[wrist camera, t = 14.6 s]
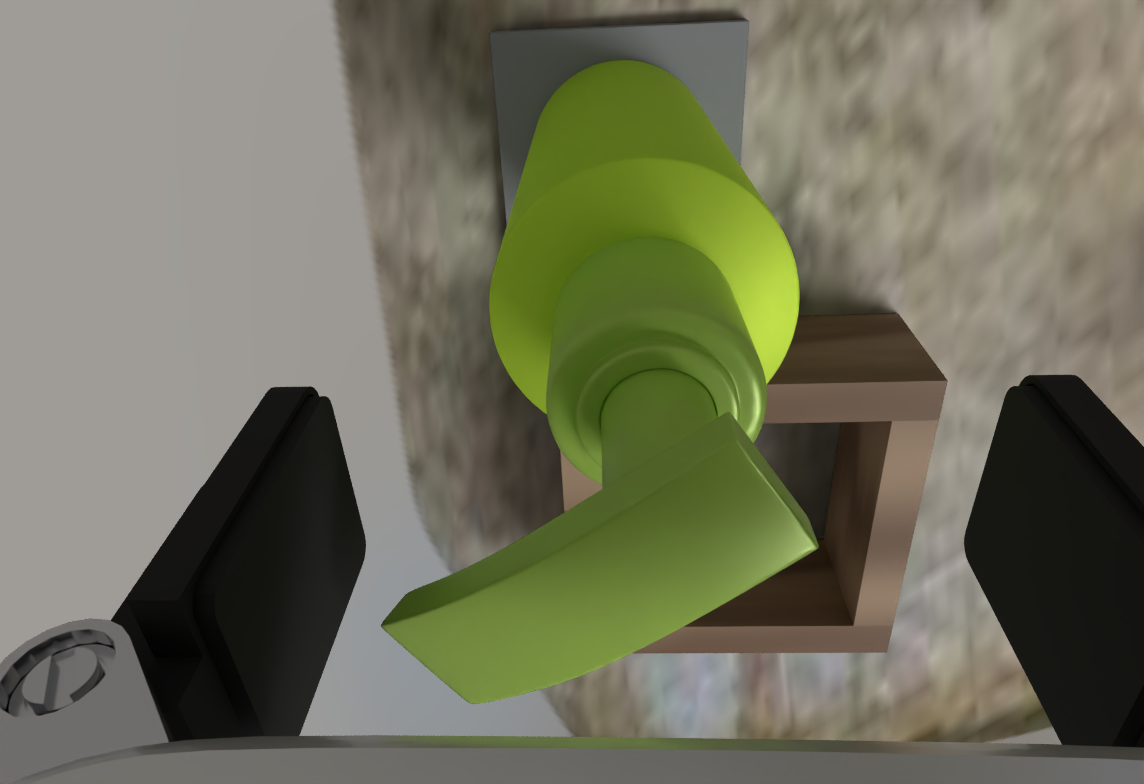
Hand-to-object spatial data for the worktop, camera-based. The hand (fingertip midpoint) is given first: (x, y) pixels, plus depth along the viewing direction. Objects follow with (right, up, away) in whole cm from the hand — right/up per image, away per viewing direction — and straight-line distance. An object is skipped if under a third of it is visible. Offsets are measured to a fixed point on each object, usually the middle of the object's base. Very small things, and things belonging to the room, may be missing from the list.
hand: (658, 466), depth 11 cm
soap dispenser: (0, +9, +15) cm, 18 cm away
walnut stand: (+5, -2, +22) cm, 23 cm away
